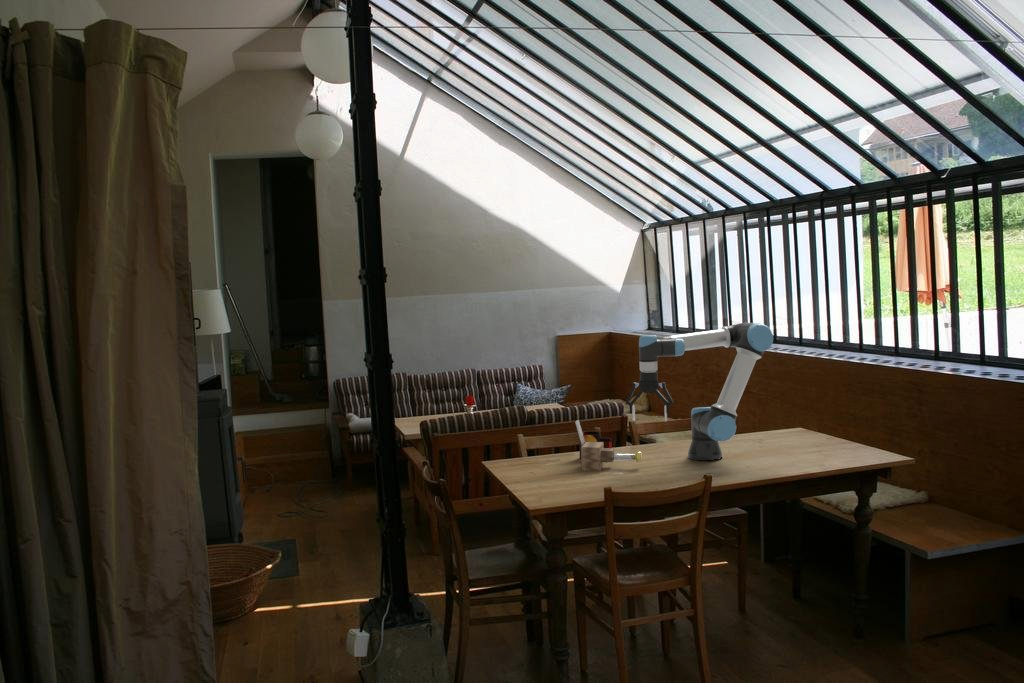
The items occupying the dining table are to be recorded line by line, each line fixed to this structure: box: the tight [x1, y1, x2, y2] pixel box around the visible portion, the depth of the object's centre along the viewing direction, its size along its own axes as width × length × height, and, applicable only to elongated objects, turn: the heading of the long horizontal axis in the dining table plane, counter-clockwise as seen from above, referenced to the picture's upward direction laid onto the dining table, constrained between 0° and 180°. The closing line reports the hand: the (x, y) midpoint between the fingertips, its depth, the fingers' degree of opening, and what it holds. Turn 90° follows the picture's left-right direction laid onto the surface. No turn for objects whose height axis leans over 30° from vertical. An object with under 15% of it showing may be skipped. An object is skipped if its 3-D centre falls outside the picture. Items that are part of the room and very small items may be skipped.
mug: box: [578, 430, 612, 461], centre depth 384 cm, size 10×14×12 cm
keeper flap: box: [574, 419, 585, 444], centre depth 367 cm, size 10×4×1 cm
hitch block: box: [580, 441, 615, 472], centre depth 365 cm, size 14×12×11 cm
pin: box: [613, 451, 643, 464], centre depth 363 cm, size 20×5×5 cm, turn 75°
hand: (649, 420), depth 359 cm, fingers open, 13 cm apart
